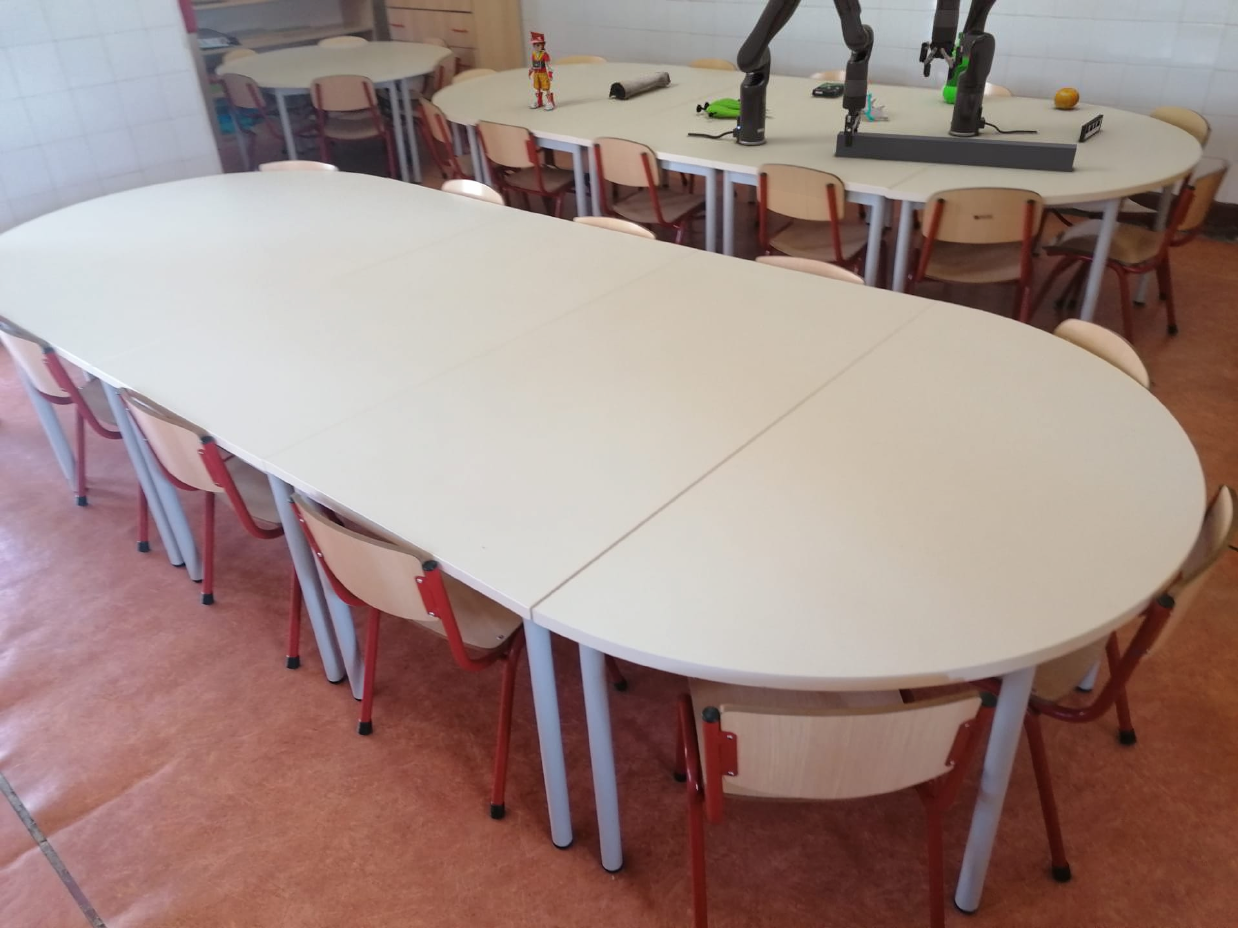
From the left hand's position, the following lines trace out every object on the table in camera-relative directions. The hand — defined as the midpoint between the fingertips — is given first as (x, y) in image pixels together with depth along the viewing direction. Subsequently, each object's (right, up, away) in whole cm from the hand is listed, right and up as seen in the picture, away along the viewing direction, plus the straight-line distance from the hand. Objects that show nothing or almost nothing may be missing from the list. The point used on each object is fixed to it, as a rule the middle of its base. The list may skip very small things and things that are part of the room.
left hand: (850, 143), depth 302 cm
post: (+30, -9, -9) cm, 32 cm away
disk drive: (+11, +47, +74) cm, 89 cm away
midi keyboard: (+84, +5, +6) cm, 84 cm away
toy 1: (-111, +44, +81) cm, 144 cm away
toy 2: (-31, +31, +54) cm, 70 cm away
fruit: (+90, +26, +37) cm, 101 cm away
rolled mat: (-69, +57, +95) cm, 130 cm away
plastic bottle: (+54, +35, +53) cm, 83 cm away
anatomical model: (+18, +25, +41) cm, 51 cm away
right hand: (+26, +18, -9) cm, 33 cm away
